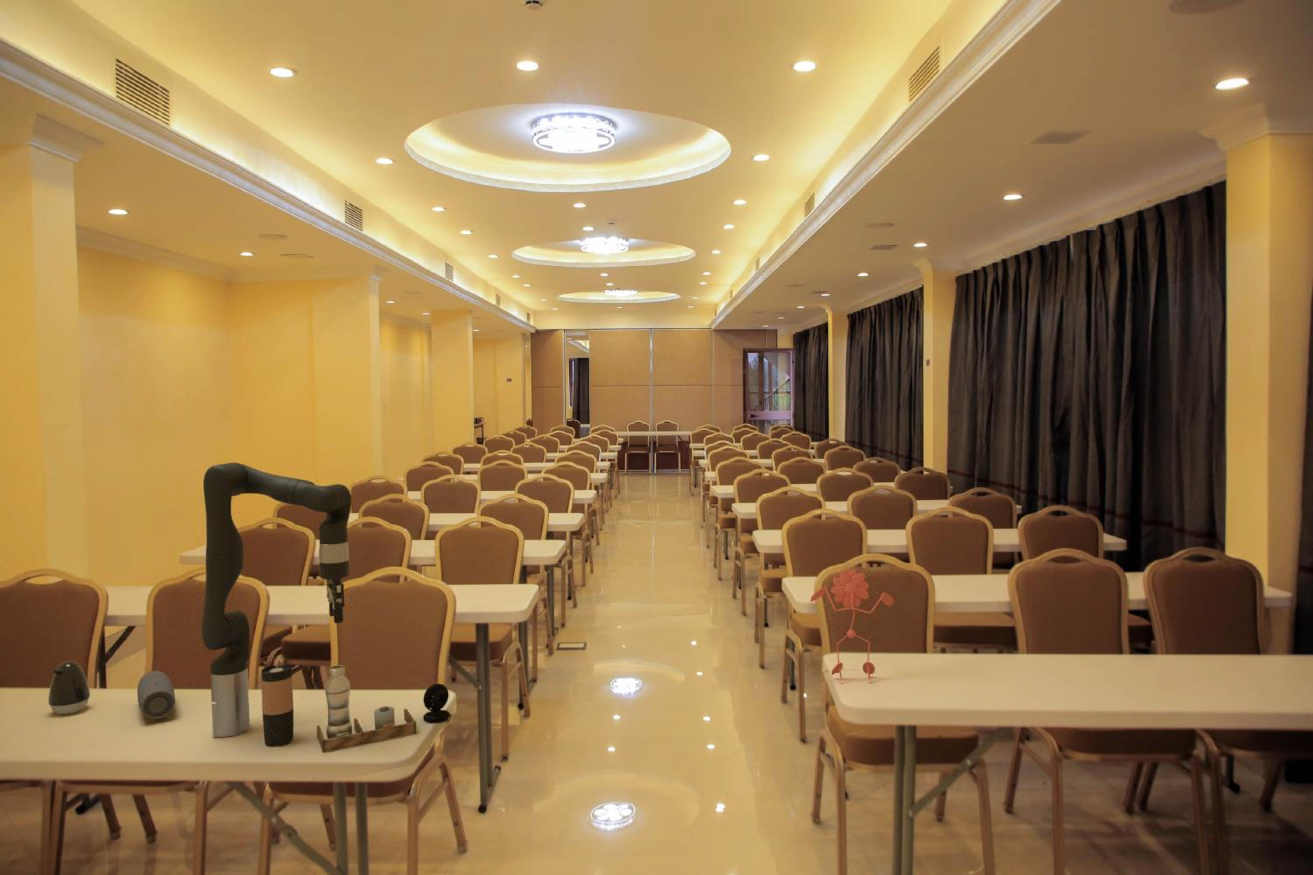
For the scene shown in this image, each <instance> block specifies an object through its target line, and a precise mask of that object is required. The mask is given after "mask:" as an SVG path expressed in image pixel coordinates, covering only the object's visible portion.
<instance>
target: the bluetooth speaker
mask: <svg viewBox="0 0 1313 875" xmlns="http://www.w3.org/2000/svg"><path fill="white" fill-rule="evenodd" d="M136 692H137V701H138V707H139V708H140V710H141V713H142V714H143V716H145V717H146V718H148V719H150V720H160V719H163V718H166V717H168V715H170V714H171V713H172V712H173V710H174V708H175V704H176V695H175V688H174V686H173V684H172V681H171V680H170V677H169V676H168V675H167V674H166V673H164V672H162V671H160V670H152V671H151V670H150V671H149V672H147V673H145V674H144V675H143V676H142V677H141V678H140V679H139V682H138V683H137V691H136Z"/></svg>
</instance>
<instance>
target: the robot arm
mask: <svg viewBox="0 0 1313 875" xmlns="http://www.w3.org/2000/svg"><path fill="white" fill-rule="evenodd" d="M202 486H203V497H204V498H203V499H204V505H205V506H204V508H205V518H206V519H205V520H206V521H205V522H206V523H205V524H206V526H205V528H206V533H205V534H206V546H205V592H204V593H205V594H204V603H203V611H202V612H203V613H202V620H201V621H202V622H201V638H202V641H203V644H204V646H205V648H207V649H208V650H210V651H217V650H221V649H224V650H223V651H222V653H221V654H220V655H219V656H217V657H216V658H215V659H213V660H212V661H211V663H210V666H209V671H210V688H211V689H210V693H211V698H210V700H211V719H212V721H211V722H212V724H211V725H212V737H213V738H226V737H227V738H228V737H233V736H234V737H235V736H238V735H241V734H243V733H246V732H248V731H249V730H250V728H251V724H250V721H251V719H250V702H249V701H250V698H249V675H248V674H249V672H248V671H249V670H248V664H249V663H248V661H249V659H250V646H251V645H250V636H251V630H250V628H251V627H250V622H249V620H248V617H247V615H246V613H245V612H243V611H241V610H234V611H228V612H225V610H226V605H227V604H226V603H227V600H228V597H229V595H230V593H231V591H232V589H233V588H234V586H235V584H236V582H237V580H238V579H239V578H240V575H241V573H242V571H243V567H244V553H245V552H244V549H245V548H244V547H245V546H244V541H243V537H242V536H241V534H240V532H239V531H238V529H237V526H236V525H235V522H234V520H233V516H232V498H233V497H236V496H239V495H246V494H251V495H252V494H254V495H262V496H267V497H269V498H271V499H273V500H275V501H277V502H279V503H282V504H288V505H292V506H293V505H294V506H298V507H299V506H300V507H304V508H306V509H309V510H311V511H314V512H318V513H325V514H326V517H325V520H323V521H322V522H320V524H319V526H318V532H319V533H318V537H319V539H318V540H319V542H318V543H319V545H318V546H319V547H318V548H319V549H318V566H319V568H318V569H319V578H321V579H322V580H326V585H325V586H326V598H327V601H328V605H329V608H328V610H329V611H328V612H329V614H328V615H329V616H330V617H333V622H334V623H335V624H340V623H341V624H342V623H343V622H344V608H345V606H346V604H345V585H344V583H343V582H342V579H343V578H346V577H349V575H350V550H349V548H350V547H349V543H348V522H349V518H350V515H351V514H350V513H351V509H352V495H351V492H350V490H349V489H348V487H347V486H346V485H344V484H340V483H336V484H331V485H330V484H329V485H317V484H315V483H314V482H313V481H309V480H306V479H301V478H295V477H289V476H283V475H277V474H273V473H269V472H265V471H262V470H259V469H256V468H254V467H251V466H248V465H245V464H243V463H239V462H228V463H221V464H216V465H215V464H214V465H212V466H210V467H209V468H208V469H207V470H206V472H205V473H204V477H203V484H202Z"/></svg>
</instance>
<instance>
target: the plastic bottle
mask: <svg viewBox="0 0 1313 875" xmlns="http://www.w3.org/2000/svg"><path fill="white" fill-rule="evenodd" d="M344 674H346V671H345V666H344V665H342V664H340V665H339V664H338V665H333V666H330V668H329V676H330V677H329V679H328V680H327V682H326V683H325V686H324V693H325V696H326V703H327V704H326V705H327V706H326V707H327V726H326V739H331V738H336V737H337V734H341V733H346V732H349V735H351V734H353V726H352V722H351V715H350V694H351V683H350V681H349V679H348V678H347V677H346V675H344Z"/></svg>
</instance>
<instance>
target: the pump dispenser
mask: <svg viewBox="0 0 1313 875" xmlns="http://www.w3.org/2000/svg"><path fill="white" fill-rule="evenodd" d="M51 672H52V673H53V677H52V678H51V682H50V687H49V691H48V702H47V703H48V705H49V706H50V708H51V710H52V711H53V712H54V713H56V714H57V715H65V716H66V715H71V714H75V713H78V712H80V711H82V710H83V709H85V707H86V706H87V704H88V702H89V698H90V697H91V692H90V686H89V682H88V680H87V677H86V674H85V672H84V671H83V669H82V667H81V666H80V665H79V664H78V663H77V662H76V661H71V660H69V661H64V662H62V663H60V664H59V666H58V667H57V668H56V669H52V671H51Z"/></svg>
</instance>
